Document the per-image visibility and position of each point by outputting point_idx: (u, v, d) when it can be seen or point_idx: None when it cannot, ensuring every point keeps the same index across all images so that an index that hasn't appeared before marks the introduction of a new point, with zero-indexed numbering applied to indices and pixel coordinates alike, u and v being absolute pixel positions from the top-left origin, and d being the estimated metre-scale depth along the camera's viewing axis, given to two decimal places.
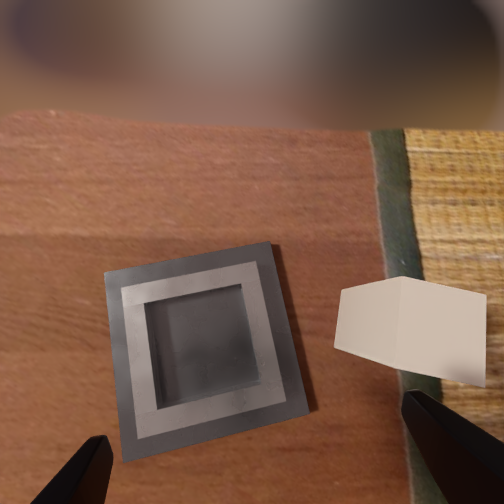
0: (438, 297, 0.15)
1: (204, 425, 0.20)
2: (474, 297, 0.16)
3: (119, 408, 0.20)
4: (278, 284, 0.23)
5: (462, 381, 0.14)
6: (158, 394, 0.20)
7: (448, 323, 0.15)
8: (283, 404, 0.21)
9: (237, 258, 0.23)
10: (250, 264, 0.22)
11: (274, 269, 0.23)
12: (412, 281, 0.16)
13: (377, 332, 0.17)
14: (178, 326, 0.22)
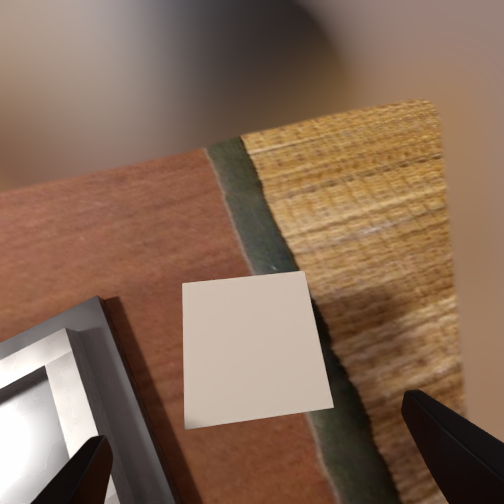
0: (239, 295, 0.11)
1: None
2: (288, 279, 0.11)
3: None
4: (114, 347, 0.17)
5: (296, 410, 0.09)
6: None
7: (259, 327, 0.10)
8: None
9: (54, 331, 0.18)
10: (57, 334, 0.16)
11: (106, 329, 0.18)
12: (199, 285, 0.11)
13: None
14: None
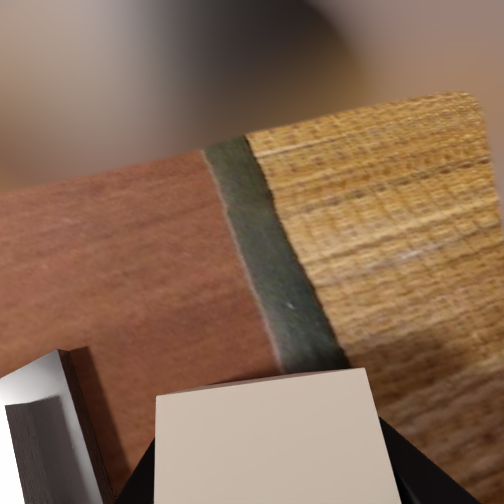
0: (256, 420, 0.06)
1: None
2: (339, 385, 0.07)
3: None
4: (76, 425, 0.13)
5: None
6: None
7: (293, 489, 0.06)
8: None
9: None
10: None
11: (67, 398, 0.13)
12: (185, 400, 0.06)
13: None
14: None
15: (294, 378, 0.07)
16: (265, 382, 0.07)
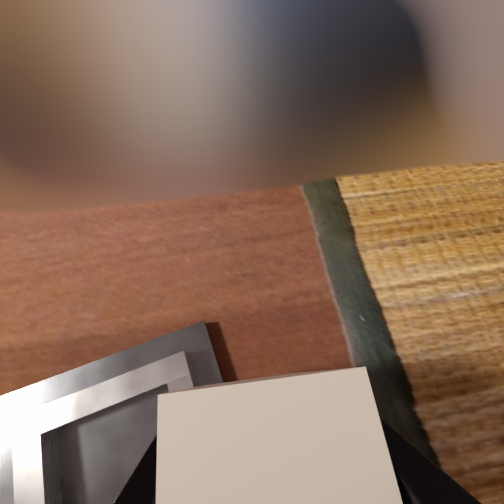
0: (257, 418, 0.06)
1: None
2: (340, 384, 0.07)
3: None
4: (218, 373, 0.19)
5: None
6: None
7: (295, 487, 0.06)
8: None
9: (166, 348, 0.20)
10: (177, 356, 0.18)
11: (212, 354, 0.20)
12: (186, 399, 0.06)
13: None
14: (93, 455, 0.17)
15: (295, 377, 0.07)
16: (266, 381, 0.07)
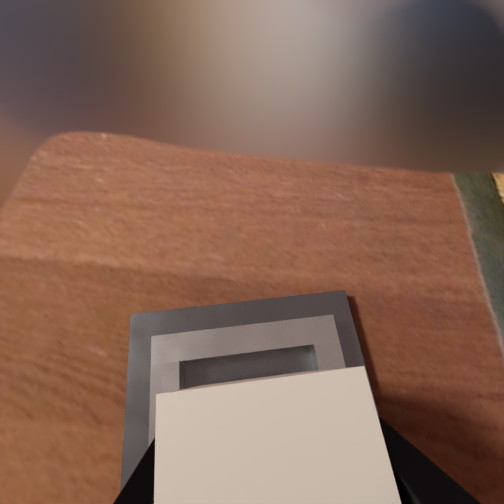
0: (255, 418, 0.06)
1: None
2: (339, 383, 0.07)
3: None
4: (359, 350, 0.17)
5: None
6: None
7: (293, 486, 0.06)
8: None
9: (303, 309, 0.18)
10: (326, 318, 0.16)
11: (352, 328, 0.17)
12: (185, 398, 0.06)
13: None
14: None
15: (294, 376, 0.07)
16: (265, 380, 0.07)
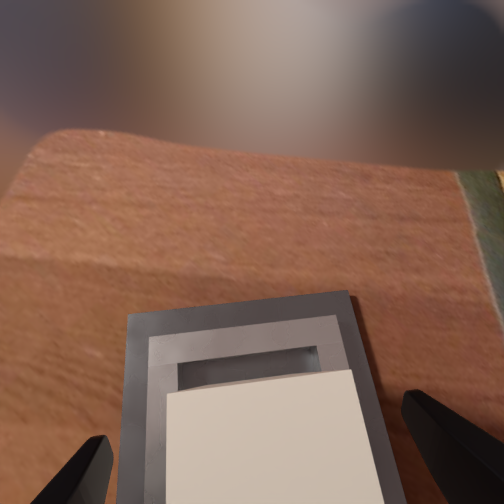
0: (254, 415, 0.07)
1: None
2: (328, 384, 0.07)
3: None
4: (362, 351, 0.16)
5: None
6: None
7: (286, 474, 0.07)
8: None
9: (305, 309, 0.17)
10: (328, 319, 0.16)
11: (356, 329, 0.17)
12: (192, 397, 0.07)
13: None
14: None
15: (288, 378, 0.07)
16: (263, 382, 0.07)
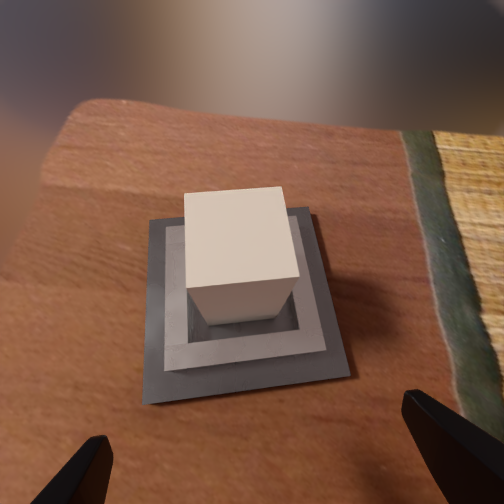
0: (229, 202, 0.14)
1: (234, 375, 0.19)
2: (268, 192, 0.14)
3: (146, 346, 0.19)
4: (316, 244, 0.23)
5: (271, 277, 0.12)
6: (189, 332, 0.19)
7: (244, 224, 0.13)
8: (321, 362, 0.19)
9: None
10: (290, 218, 0.22)
11: (312, 231, 0.24)
12: (197, 195, 0.14)
13: None
14: None
15: None
16: (234, 190, 0.14)
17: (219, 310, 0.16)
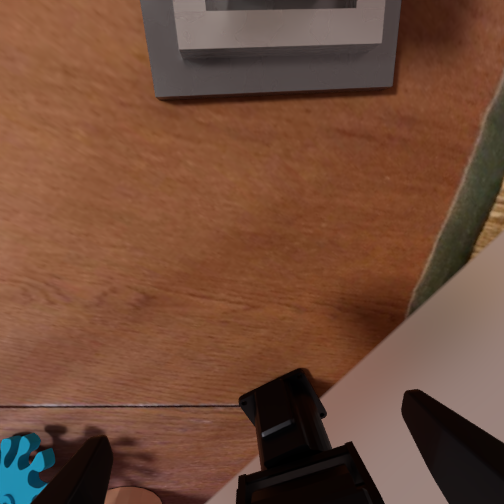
0: None
1: (261, 71, 0.15)
2: None
3: (145, 18, 0.14)
4: None
5: None
6: None
7: None
8: (364, 66, 0.16)
9: None
10: None
11: None
12: None
13: None
14: None
15: None
16: None
17: None
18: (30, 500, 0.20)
